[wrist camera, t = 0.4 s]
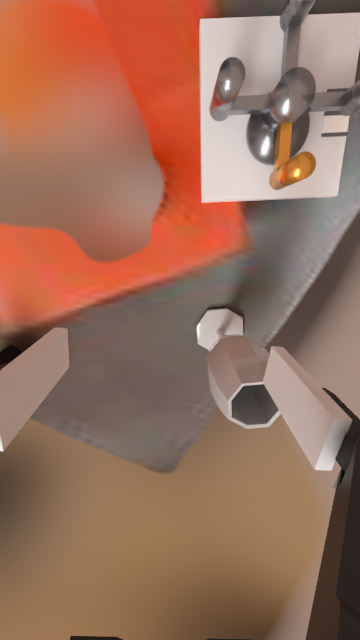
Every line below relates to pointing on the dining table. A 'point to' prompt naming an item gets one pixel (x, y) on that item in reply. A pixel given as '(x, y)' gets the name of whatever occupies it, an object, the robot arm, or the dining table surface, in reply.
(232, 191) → the stand plate
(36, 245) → the dining table surface
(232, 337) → the wineglass
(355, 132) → the dining table surface
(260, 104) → the silver metal piece
